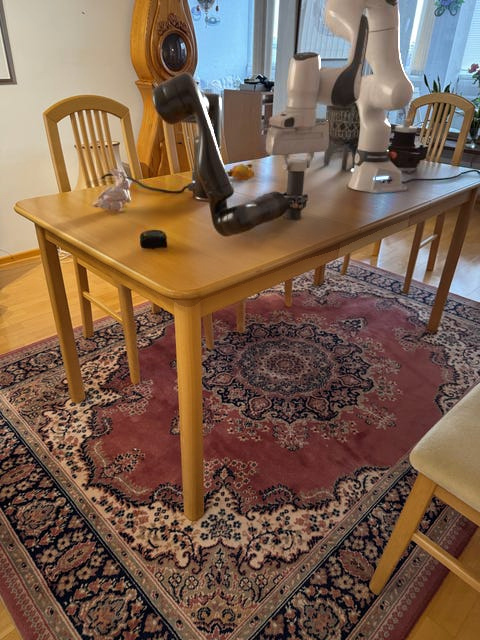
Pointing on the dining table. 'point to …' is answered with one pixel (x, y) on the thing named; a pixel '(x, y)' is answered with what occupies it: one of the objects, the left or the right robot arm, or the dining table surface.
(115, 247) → the dining table surface
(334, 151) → the rock
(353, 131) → the planter
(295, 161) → the lid
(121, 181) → the figurine
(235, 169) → the toy
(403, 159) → the mechanical component
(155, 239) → the tape measure
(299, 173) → the jar
